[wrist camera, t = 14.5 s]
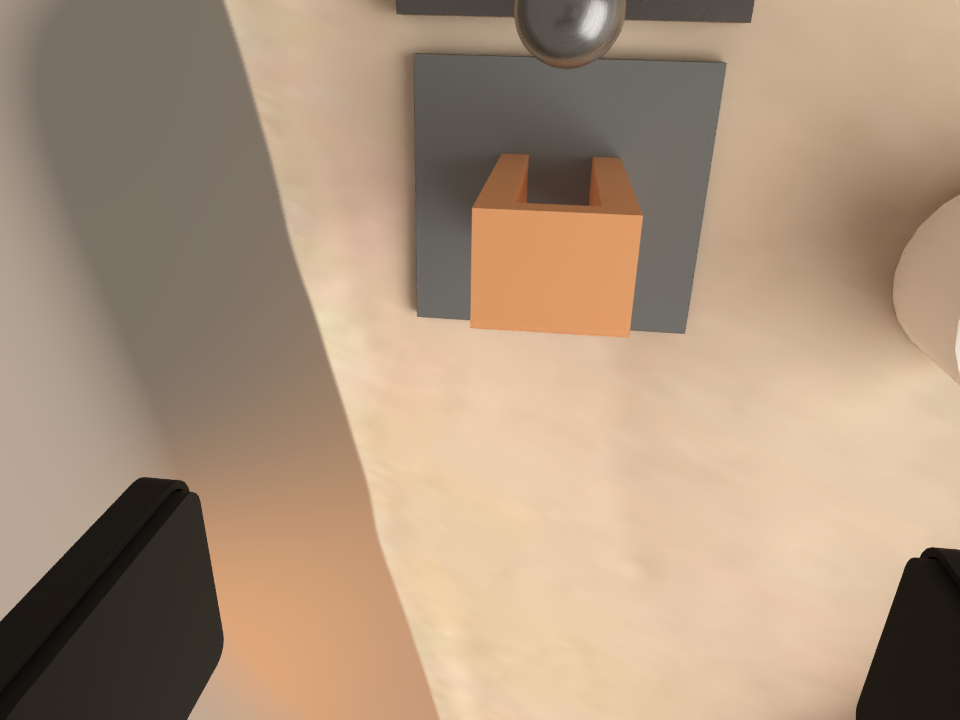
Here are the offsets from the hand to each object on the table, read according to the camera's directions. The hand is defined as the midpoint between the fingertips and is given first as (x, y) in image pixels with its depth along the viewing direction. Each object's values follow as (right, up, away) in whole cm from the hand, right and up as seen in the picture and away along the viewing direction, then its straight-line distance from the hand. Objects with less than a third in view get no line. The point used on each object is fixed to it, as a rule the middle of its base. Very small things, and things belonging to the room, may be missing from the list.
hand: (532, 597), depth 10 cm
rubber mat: (+3, +11, +23) cm, 26 cm away
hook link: (+3, +10, +23) cm, 25 cm away
